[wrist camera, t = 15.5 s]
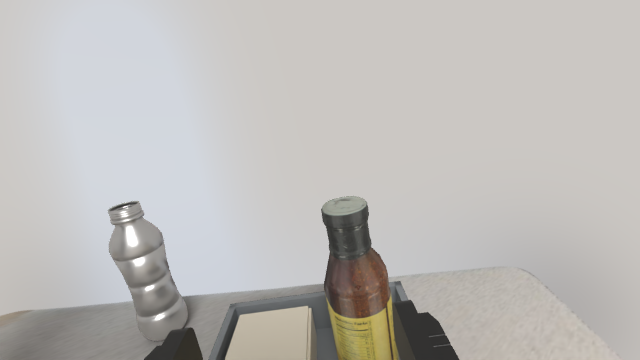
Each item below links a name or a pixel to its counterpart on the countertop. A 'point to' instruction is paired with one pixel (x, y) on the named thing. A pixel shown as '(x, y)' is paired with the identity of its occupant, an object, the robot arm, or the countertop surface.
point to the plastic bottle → (146, 272)
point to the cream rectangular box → (275, 336)
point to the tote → (315, 301)
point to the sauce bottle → (357, 285)
